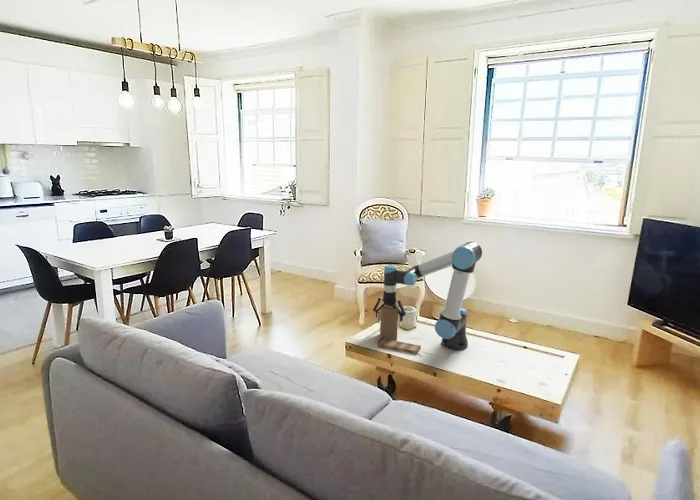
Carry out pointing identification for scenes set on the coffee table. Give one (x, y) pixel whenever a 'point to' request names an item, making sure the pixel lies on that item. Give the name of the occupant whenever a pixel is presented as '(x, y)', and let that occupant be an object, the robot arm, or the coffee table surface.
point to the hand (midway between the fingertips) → (388, 324)
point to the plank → (398, 346)
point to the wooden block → (389, 323)
